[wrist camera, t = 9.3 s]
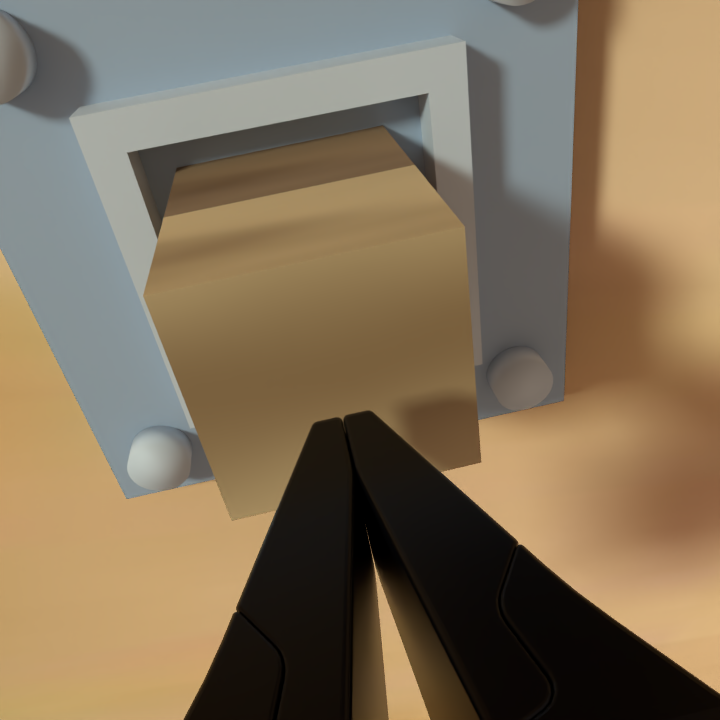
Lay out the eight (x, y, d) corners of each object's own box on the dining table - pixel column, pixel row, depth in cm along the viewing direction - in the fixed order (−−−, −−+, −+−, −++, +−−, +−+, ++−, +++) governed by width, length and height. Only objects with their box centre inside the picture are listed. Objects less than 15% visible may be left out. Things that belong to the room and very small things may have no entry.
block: (406, 305, 16) (481, 462, 11) (232, 343, 16) (231, 521, 11) (382, 125, 14) (464, 226, 9) (176, 168, 14) (142, 296, 9)
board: (547, 378, 20) (578, 421, 18) (132, 470, 19) (121, 525, 18) (556, -148, 13) (609, -163, 11) (-108, -28, 12) (-168, -23, 10)
